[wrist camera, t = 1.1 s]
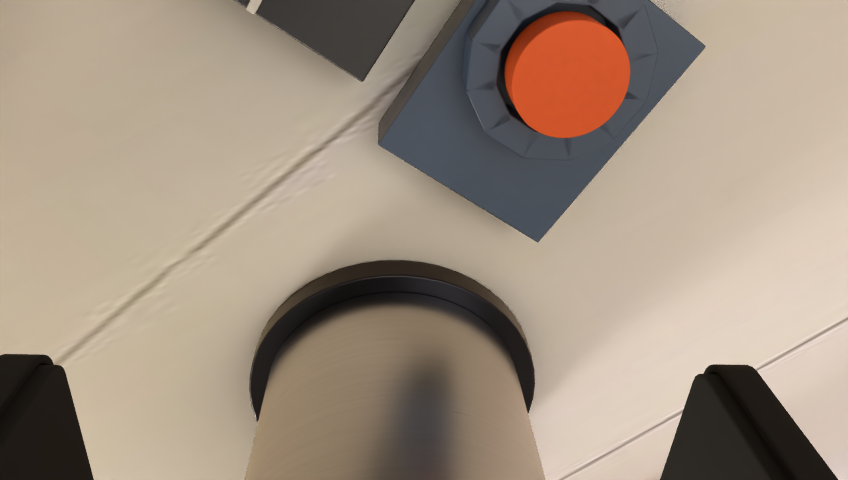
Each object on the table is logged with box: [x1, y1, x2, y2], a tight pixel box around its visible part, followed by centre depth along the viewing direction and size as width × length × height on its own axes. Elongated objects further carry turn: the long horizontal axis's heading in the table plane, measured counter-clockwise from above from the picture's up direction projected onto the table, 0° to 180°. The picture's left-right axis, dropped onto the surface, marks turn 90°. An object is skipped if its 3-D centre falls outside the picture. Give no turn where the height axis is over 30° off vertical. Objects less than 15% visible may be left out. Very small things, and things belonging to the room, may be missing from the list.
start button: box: [504, 11, 630, 138], centre depth 25 cm, size 4×4×2 cm
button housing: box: [378, 0, 705, 242], centre depth 28 cm, size 9×11×4 cm
